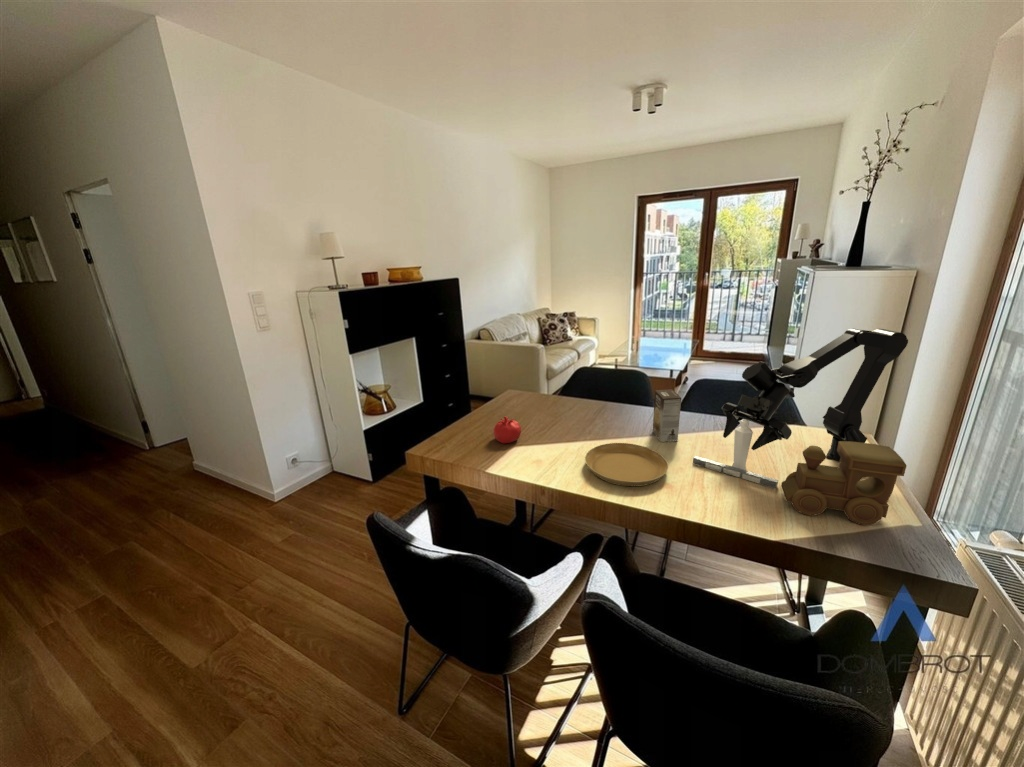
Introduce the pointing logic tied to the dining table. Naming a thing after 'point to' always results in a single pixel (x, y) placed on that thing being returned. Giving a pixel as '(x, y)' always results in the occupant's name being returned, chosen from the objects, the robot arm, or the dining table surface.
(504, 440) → the pomegranate
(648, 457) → the plant saucer
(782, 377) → the robot arm
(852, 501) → the wooden toy train
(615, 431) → the dining table surface
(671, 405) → the coffee box
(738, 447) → the cream angular vase
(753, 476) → the rail
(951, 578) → the dining table surface
